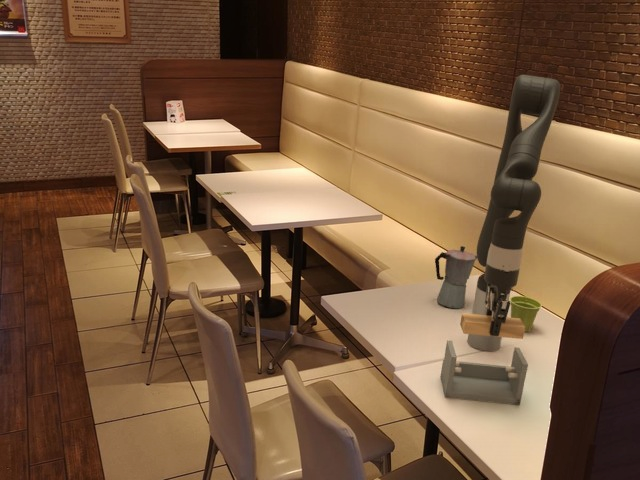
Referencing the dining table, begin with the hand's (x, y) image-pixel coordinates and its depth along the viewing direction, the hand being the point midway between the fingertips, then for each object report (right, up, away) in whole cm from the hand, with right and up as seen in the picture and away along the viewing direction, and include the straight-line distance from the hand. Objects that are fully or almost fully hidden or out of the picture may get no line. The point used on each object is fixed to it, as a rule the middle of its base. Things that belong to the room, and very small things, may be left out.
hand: (491, 329), depth 152 cm
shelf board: (0, 0, 0) cm, 0 cm away
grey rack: (-2, -16, +5) cm, 17 cm away
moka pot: (+2, 0, +57) cm, 57 cm away
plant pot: (+21, -6, +44) cm, 49 cm away
